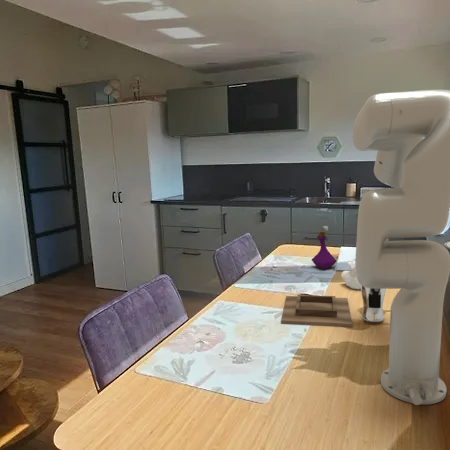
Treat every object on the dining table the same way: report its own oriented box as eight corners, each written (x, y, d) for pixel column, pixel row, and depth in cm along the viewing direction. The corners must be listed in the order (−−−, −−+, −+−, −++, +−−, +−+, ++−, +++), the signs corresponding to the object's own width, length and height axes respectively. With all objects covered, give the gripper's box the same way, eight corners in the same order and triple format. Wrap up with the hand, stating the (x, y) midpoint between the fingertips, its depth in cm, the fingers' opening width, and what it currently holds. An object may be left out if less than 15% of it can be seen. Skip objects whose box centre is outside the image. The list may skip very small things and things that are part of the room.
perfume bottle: (311, 267, 172) (310, 225, 169) (325, 264, 176) (325, 223, 172) (322, 271, 166) (322, 228, 162) (336, 268, 169) (337, 226, 165)
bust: (340, 290, 149) (332, 272, 143) (347, 274, 153) (339, 255, 146) (372, 297, 142) (365, 278, 135) (379, 279, 145) (372, 260, 139)
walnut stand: (352, 327, 115) (352, 317, 114) (281, 323, 119) (280, 313, 118) (347, 300, 134) (347, 292, 133) (286, 298, 138) (286, 290, 138)
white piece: (387, 323, 114) (388, 271, 112) (361, 322, 115) (362, 271, 113) (383, 313, 121) (384, 265, 118) (358, 312, 122) (359, 264, 120)
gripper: (393, 249, 105) (391, 315, 108) (383, 236, 122) (382, 293, 125) (363, 249, 107) (362, 314, 110) (357, 236, 124) (356, 292, 127)
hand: (372, 302), depth 117 cm, fingers closed on white piece, 6 cm apart
